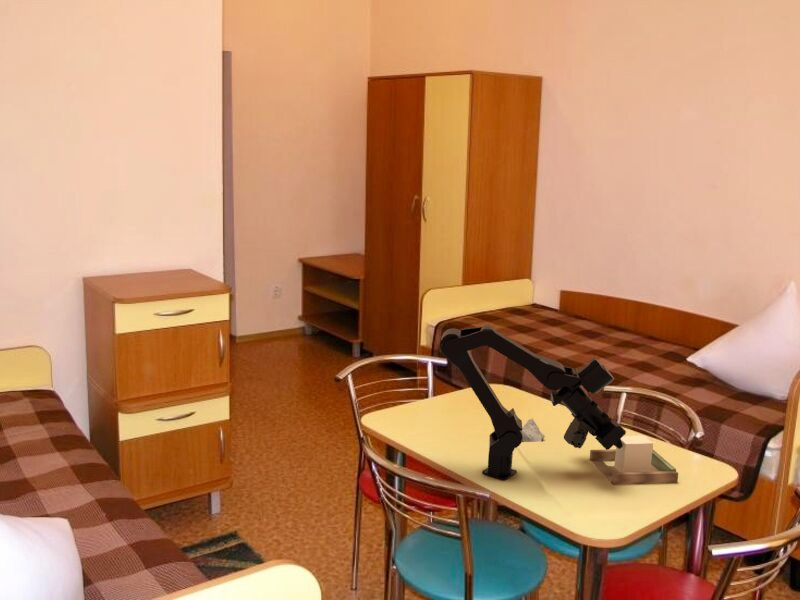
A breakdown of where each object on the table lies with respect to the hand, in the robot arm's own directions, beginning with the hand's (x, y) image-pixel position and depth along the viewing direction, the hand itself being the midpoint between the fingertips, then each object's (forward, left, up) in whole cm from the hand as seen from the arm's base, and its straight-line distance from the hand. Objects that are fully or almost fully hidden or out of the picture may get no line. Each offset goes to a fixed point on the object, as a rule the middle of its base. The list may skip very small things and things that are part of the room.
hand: (620, 447), depth 190 cm
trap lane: (+3, -2, -8) cm, 9 cm away
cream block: (+3, -2, -6) cm, 7 cm away
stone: (+10, +29, -8) cm, 31 cm away
